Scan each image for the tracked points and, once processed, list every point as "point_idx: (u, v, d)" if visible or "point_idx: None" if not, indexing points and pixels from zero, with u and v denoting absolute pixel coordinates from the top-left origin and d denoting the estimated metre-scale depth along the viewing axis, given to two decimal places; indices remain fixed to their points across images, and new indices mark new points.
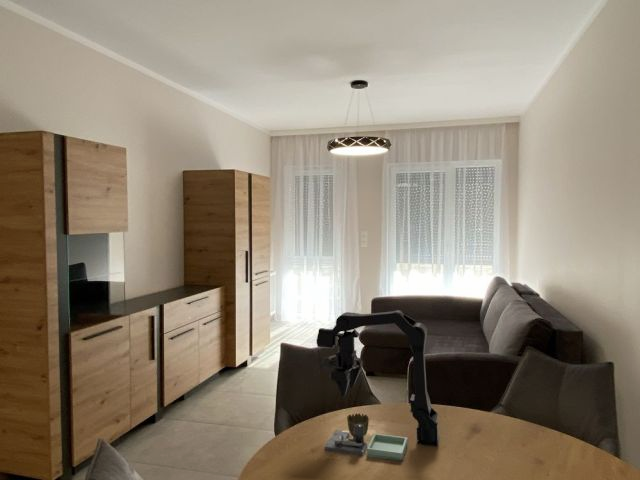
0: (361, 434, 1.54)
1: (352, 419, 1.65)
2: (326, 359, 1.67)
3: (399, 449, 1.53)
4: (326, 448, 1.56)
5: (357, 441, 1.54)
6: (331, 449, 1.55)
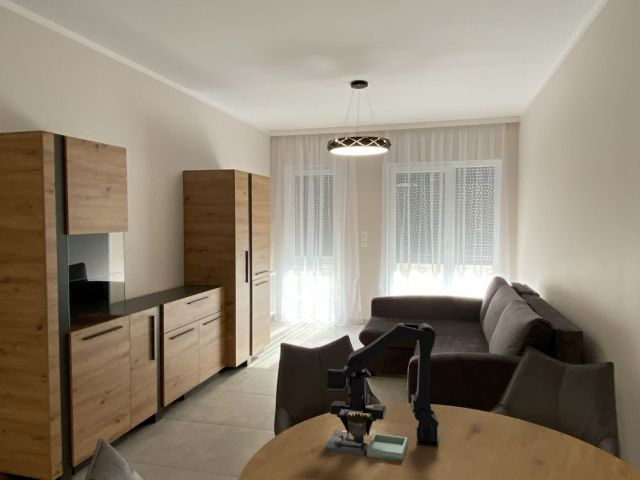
0: (361, 434, 1.54)
1: (352, 419, 1.65)
2: None
3: (399, 449, 1.53)
4: (326, 448, 1.56)
5: (357, 441, 1.54)
6: (331, 449, 1.55)
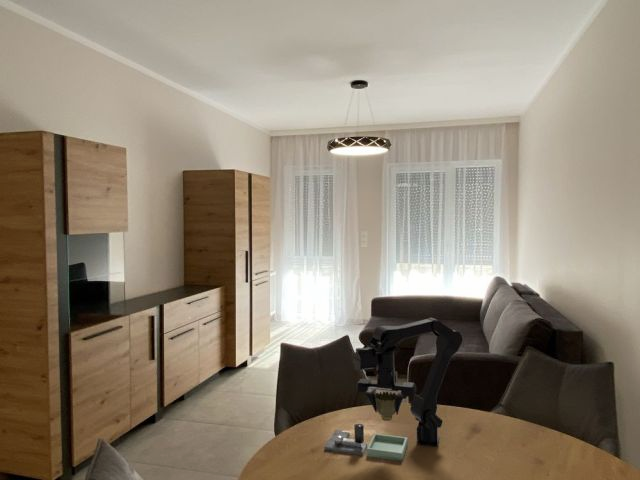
0: (361, 434, 1.54)
1: (380, 397, 1.57)
2: (377, 369, 1.61)
3: (399, 449, 1.53)
4: (326, 448, 1.56)
5: (357, 441, 1.54)
6: (331, 449, 1.55)
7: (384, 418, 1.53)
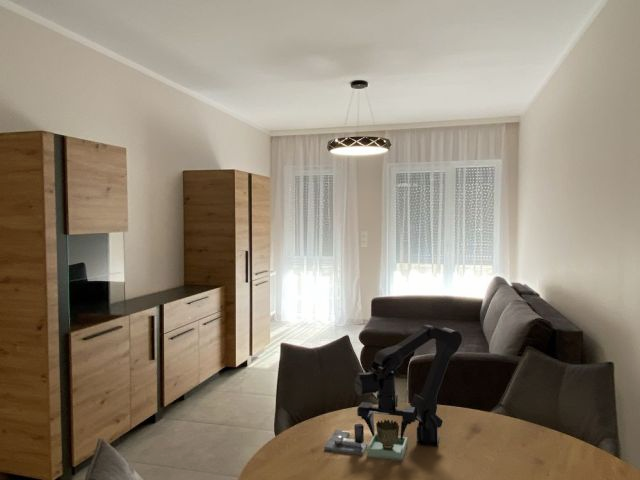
0: (361, 434, 1.54)
1: (381, 426, 1.57)
2: (377, 392, 1.61)
3: (399, 449, 1.53)
4: (326, 448, 1.56)
5: (357, 441, 1.54)
6: (331, 449, 1.55)
7: (385, 447, 1.53)
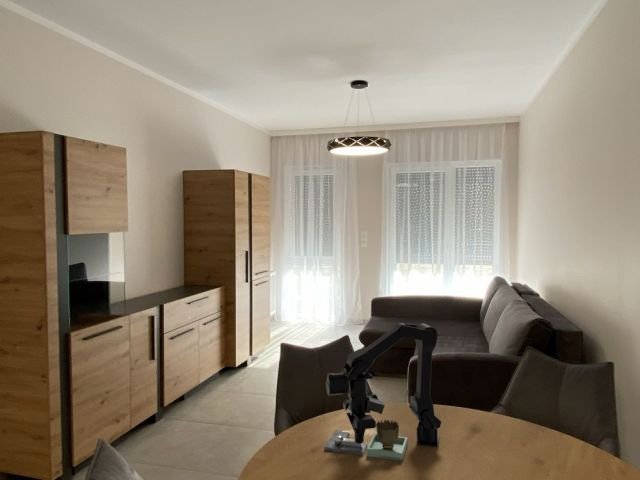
0: None
1: (381, 426, 1.57)
2: None
3: (399, 449, 1.53)
4: (326, 448, 1.56)
5: (357, 441, 1.54)
6: (331, 449, 1.55)
7: (385, 447, 1.53)
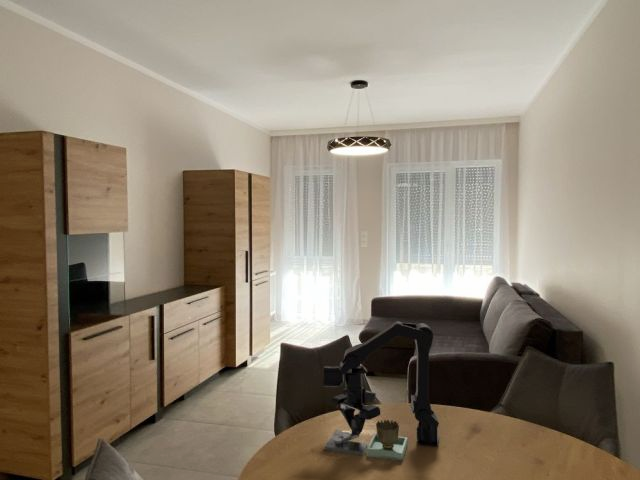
0: None
1: (381, 426, 1.57)
2: None
3: (399, 449, 1.53)
4: (326, 448, 1.56)
5: (357, 433, 1.60)
6: (331, 449, 1.55)
7: (385, 447, 1.53)
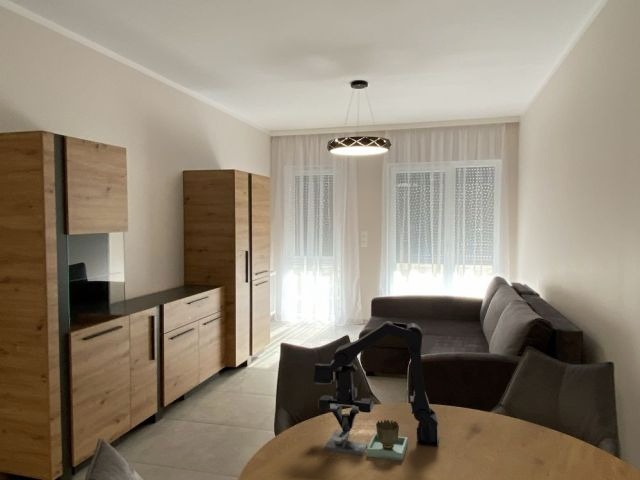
0: None
1: (381, 426, 1.57)
2: None
3: (399, 449, 1.53)
4: (326, 448, 1.56)
5: (350, 429, 1.63)
6: (331, 449, 1.55)
7: (385, 447, 1.53)
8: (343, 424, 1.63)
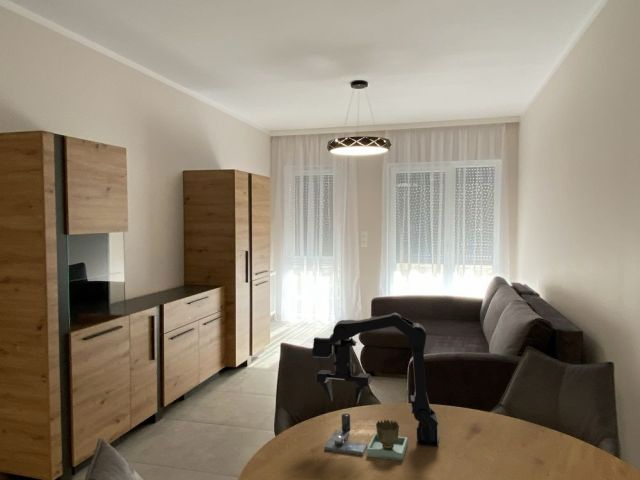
0: None
1: (381, 426, 1.57)
2: None
3: (399, 449, 1.53)
4: (326, 448, 1.56)
5: (349, 429, 1.63)
6: (331, 449, 1.55)
7: (385, 447, 1.53)
8: (343, 424, 1.63)
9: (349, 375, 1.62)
